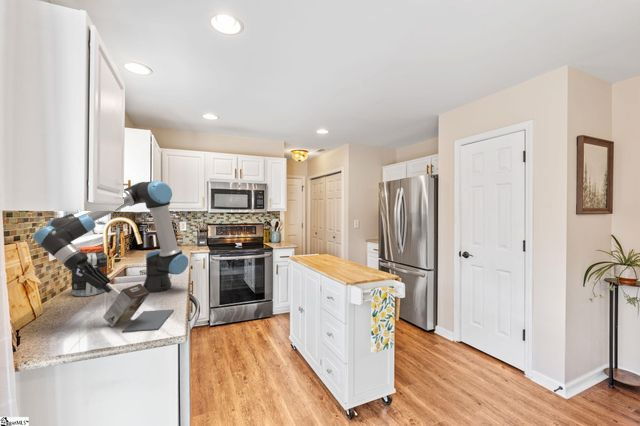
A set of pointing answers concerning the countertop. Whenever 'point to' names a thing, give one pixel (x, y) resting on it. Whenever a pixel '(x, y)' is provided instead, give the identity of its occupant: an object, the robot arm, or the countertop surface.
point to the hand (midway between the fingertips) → (117, 295)
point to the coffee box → (126, 304)
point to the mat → (149, 321)
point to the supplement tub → (94, 258)
